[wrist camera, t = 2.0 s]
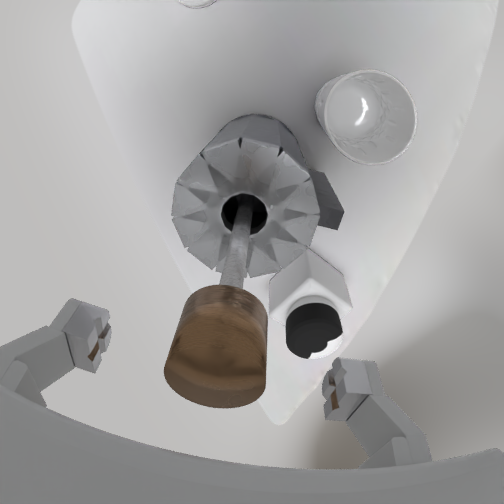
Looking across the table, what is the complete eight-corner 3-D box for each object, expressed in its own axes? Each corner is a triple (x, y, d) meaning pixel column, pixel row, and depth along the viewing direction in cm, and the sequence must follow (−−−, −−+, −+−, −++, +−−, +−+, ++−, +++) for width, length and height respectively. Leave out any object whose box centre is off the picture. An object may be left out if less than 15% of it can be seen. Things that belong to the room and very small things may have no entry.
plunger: (216, 136, 23) (100, 270, 7) (302, 155, 24) (363, 325, 8) (202, 214, 27) (120, 406, 11) (280, 231, 27) (286, 439, 11)
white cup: (293, 100, 30) (303, 107, 22) (349, 58, 27) (380, 51, 19) (339, 155, 33) (363, 183, 24) (392, 115, 30) (433, 131, 22)
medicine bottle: (268, 281, 42) (266, 348, 32) (304, 244, 39) (315, 308, 29) (307, 307, 44) (315, 374, 34) (343, 274, 41) (363, 339, 31)
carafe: (221, 105, 31) (181, 126, 17) (329, 131, 32) (374, 173, 18) (205, 187, 36) (164, 261, 22) (306, 210, 37) (325, 295, 23)
